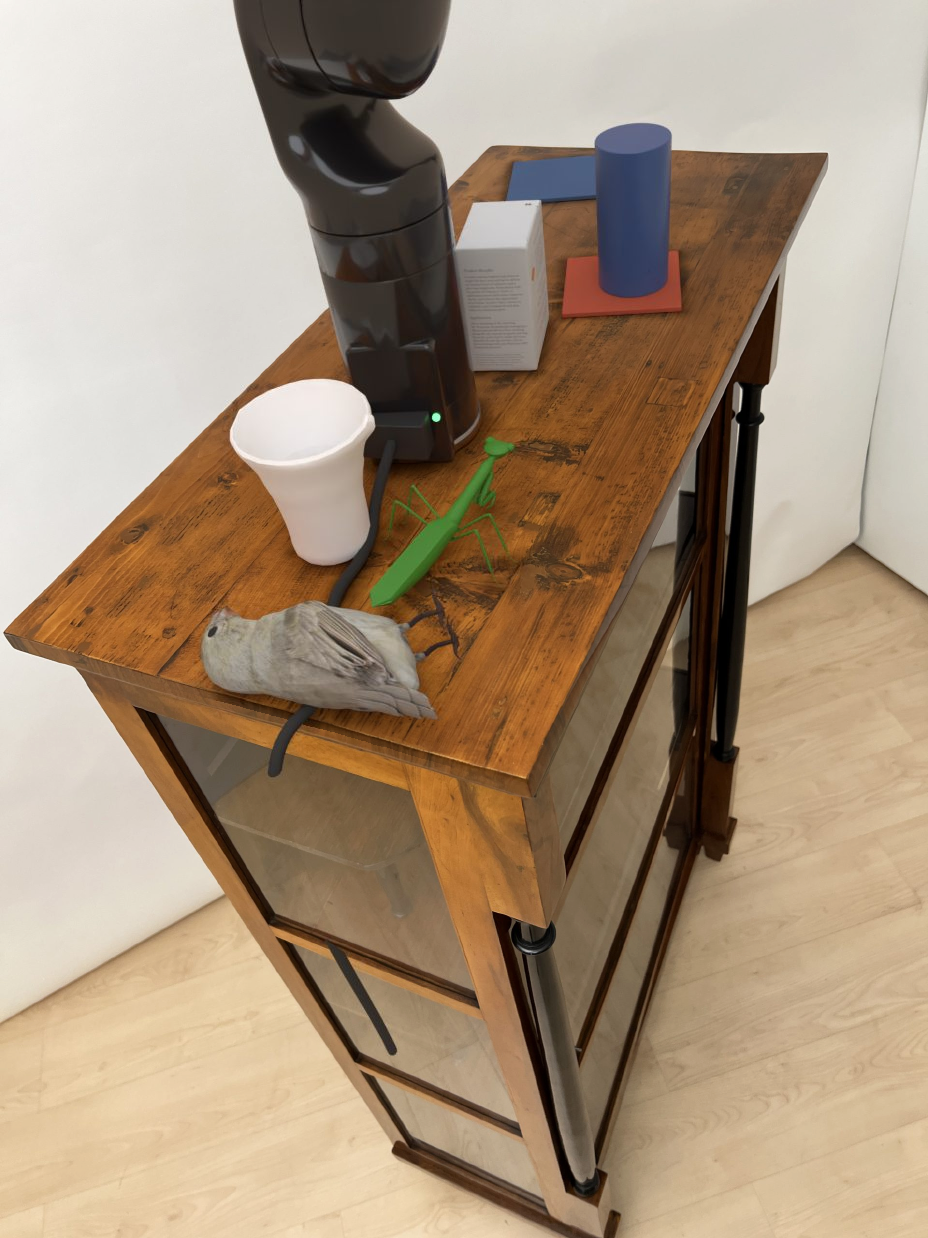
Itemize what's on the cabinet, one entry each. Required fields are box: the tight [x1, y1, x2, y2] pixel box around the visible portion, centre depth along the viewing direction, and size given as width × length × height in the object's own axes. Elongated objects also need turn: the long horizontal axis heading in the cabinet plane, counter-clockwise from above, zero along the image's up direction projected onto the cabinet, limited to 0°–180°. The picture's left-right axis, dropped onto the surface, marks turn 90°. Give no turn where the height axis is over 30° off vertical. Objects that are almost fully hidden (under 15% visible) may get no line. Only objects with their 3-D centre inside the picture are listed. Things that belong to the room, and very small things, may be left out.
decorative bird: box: [200, 582, 463, 721], centre depth 54 cm, size 5×16×7 cm
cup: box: [229, 378, 375, 566], centre depth 61 cm, size 9×9×10 cm
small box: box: [456, 200, 550, 372], centre depth 75 cm, size 8×6×10 cm
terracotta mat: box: [561, 250, 683, 319], centre depth 83 cm, size 10×10×1 cm
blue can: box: [594, 122, 673, 297], centre depth 79 cm, size 6×6×12 cm
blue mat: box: [505, 154, 596, 204], centre depth 100 cm, size 10×10×1 cm
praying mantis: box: [369, 436, 516, 608], centre depth 61 cm, size 9×15×4 cm, turn 145°
